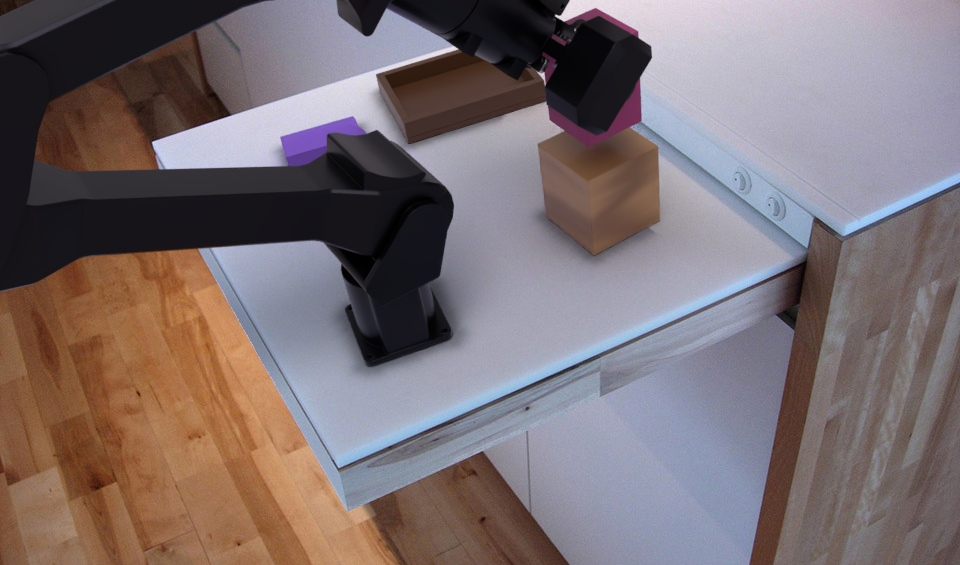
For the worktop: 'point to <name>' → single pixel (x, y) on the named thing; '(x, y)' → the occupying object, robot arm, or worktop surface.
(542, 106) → the worktop surface
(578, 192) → the oak block
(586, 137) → the mulberry block
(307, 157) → the purple block
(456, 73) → the tray
